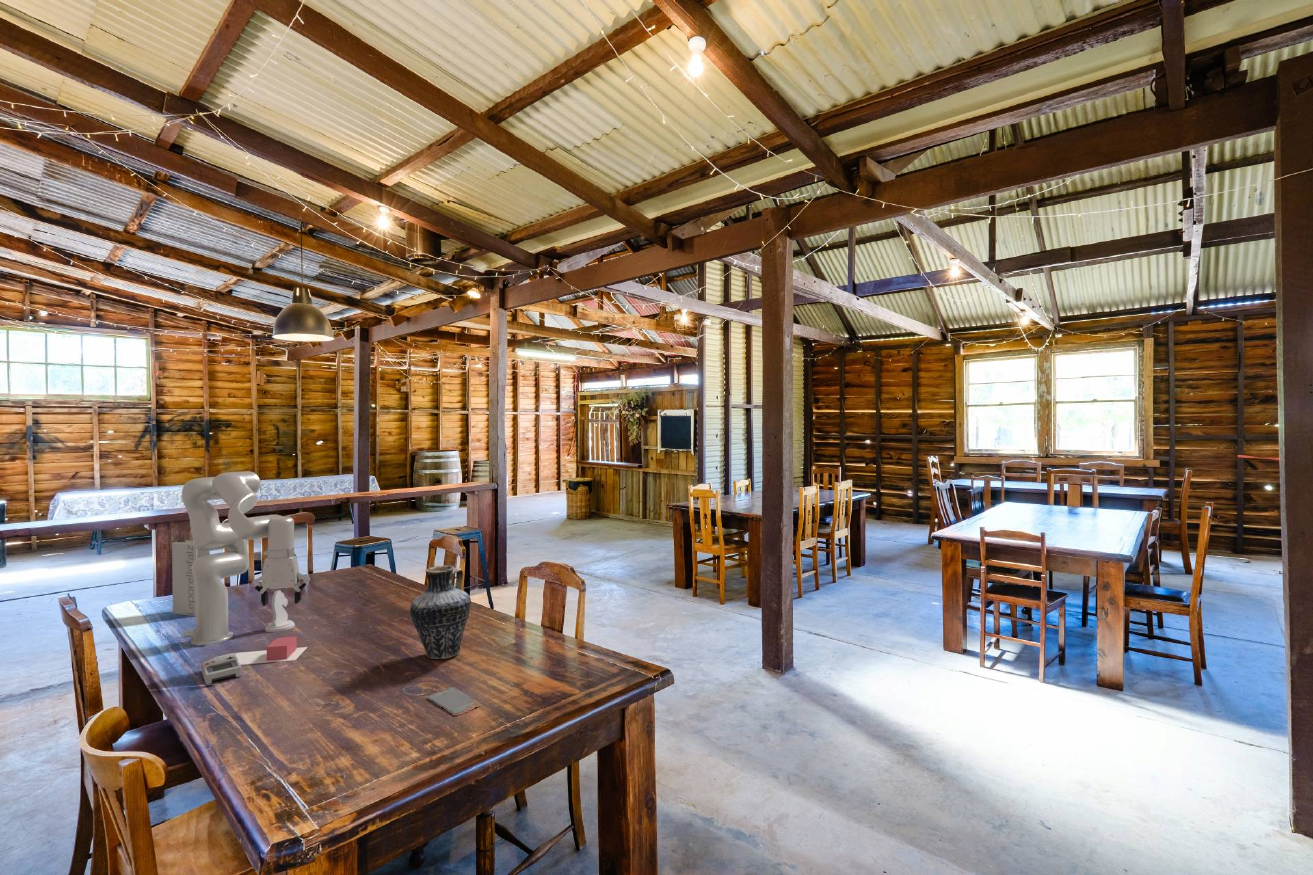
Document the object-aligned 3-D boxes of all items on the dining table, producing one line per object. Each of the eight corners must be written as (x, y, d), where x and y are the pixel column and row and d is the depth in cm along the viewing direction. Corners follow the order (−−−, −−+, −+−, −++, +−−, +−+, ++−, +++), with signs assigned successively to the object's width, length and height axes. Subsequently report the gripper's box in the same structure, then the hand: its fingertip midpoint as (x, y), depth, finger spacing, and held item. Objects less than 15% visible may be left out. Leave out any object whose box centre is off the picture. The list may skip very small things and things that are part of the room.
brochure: (172, 613, 246) (171, 542, 246) (186, 609, 252) (185, 540, 251) (197, 616, 242) (196, 544, 242) (210, 612, 247) (209, 542, 247)
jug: (451, 668, 187) (450, 576, 187) (398, 664, 191) (397, 573, 191) (483, 645, 208) (482, 562, 207) (434, 641, 212) (433, 559, 211)
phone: (453, 690, 173) (453, 686, 173) (482, 707, 162) (482, 703, 162) (427, 700, 166) (426, 695, 166) (455, 718, 156) (455, 713, 156)
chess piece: (300, 623, 232) (299, 586, 232) (284, 632, 222) (283, 593, 222) (276, 623, 232) (275, 586, 232) (258, 632, 223) (258, 593, 222)
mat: (219, 667, 189) (219, 666, 189) (236, 654, 200) (236, 652, 200) (295, 661, 194) (295, 659, 194) (307, 648, 206) (307, 646, 206)
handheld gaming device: (235, 662, 191) (234, 651, 191) (242, 677, 181) (241, 665, 180) (201, 671, 185) (200, 659, 185) (206, 687, 174) (205, 674, 174)
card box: (277, 650, 202) (277, 637, 202) (296, 649, 203) (296, 636, 203) (266, 660, 193) (266, 647, 193) (287, 658, 195) (286, 645, 195)
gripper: (247, 557, 192) (247, 608, 192) (305, 554, 196) (305, 605, 197) (257, 552, 200) (257, 602, 200) (313, 550, 204) (313, 598, 204)
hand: (281, 603), depth 198 cm, fingers open, 9 cm apart
